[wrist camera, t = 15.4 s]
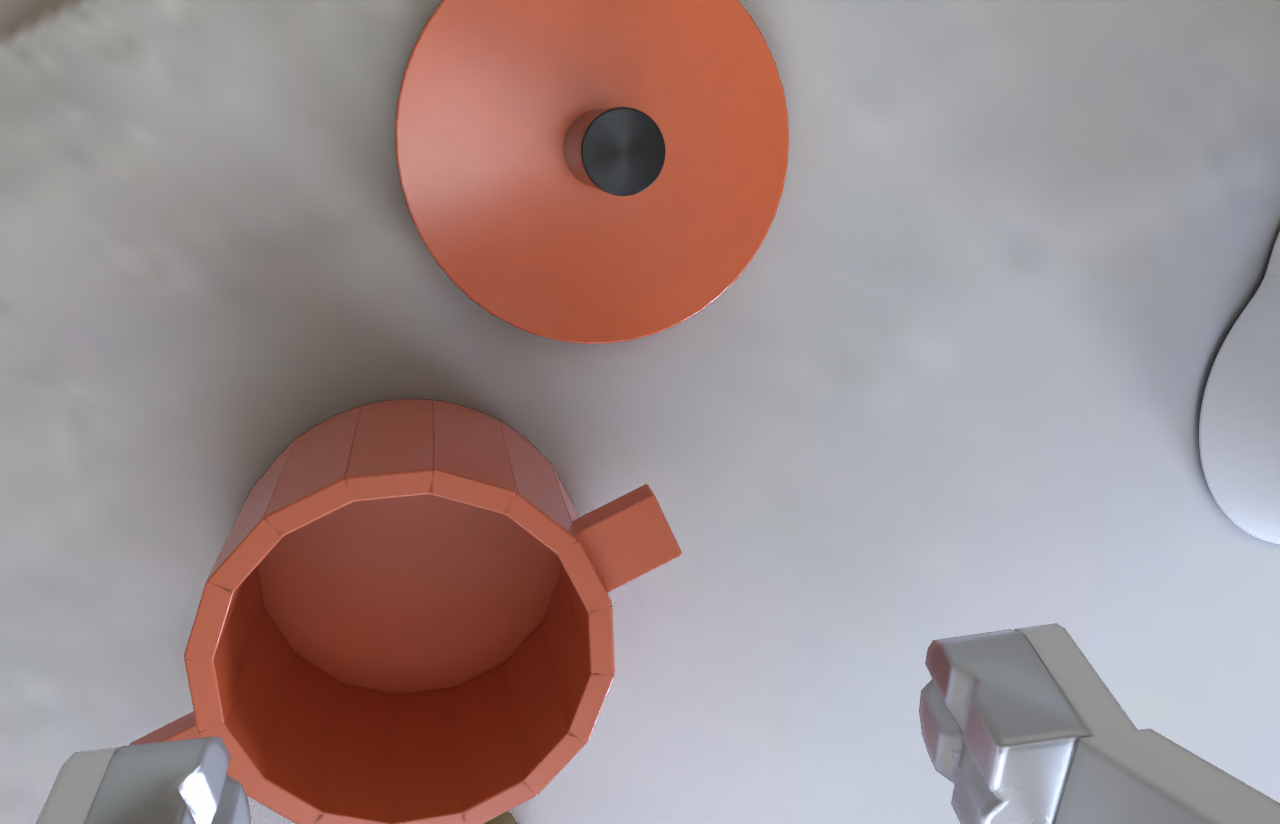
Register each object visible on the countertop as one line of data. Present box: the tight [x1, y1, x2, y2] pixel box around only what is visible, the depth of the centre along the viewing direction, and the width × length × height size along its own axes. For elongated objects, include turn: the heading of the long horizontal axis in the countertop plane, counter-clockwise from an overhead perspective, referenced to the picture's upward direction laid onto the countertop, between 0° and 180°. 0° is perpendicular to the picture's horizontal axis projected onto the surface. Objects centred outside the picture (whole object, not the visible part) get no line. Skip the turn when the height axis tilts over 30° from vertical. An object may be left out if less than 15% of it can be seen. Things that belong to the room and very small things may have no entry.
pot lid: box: [395, 0, 789, 344], centre depth 32 cm, size 14×14×5 cm
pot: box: [130, 399, 682, 824], centre depth 33 cm, size 13×18×8 cm
